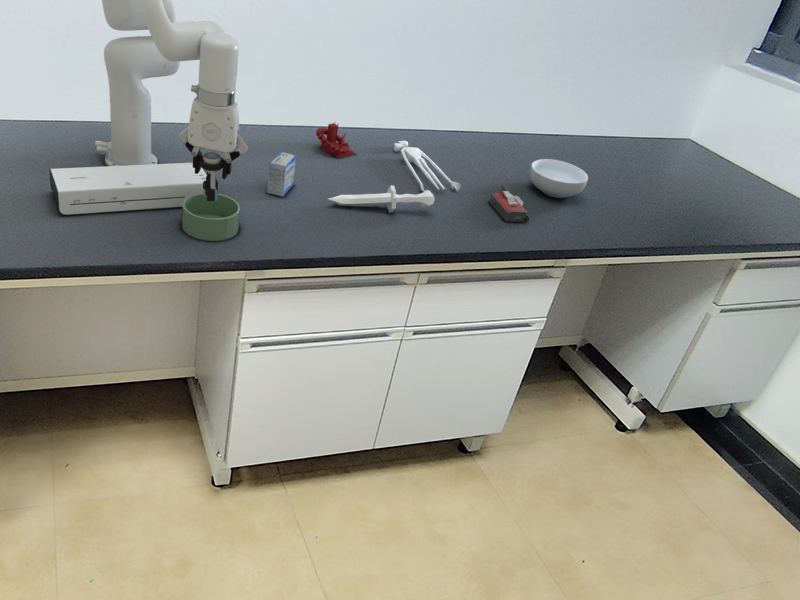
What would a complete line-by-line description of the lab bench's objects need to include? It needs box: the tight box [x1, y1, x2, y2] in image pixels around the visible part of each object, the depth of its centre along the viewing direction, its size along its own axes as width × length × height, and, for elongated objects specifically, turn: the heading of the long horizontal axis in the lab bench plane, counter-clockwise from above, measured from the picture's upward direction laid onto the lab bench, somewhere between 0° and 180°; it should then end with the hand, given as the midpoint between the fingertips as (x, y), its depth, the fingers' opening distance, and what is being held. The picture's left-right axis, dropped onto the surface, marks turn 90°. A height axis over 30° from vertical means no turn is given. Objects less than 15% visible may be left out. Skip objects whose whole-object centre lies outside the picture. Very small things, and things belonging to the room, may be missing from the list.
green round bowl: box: [181, 193, 241, 242], centre depth 175 cm, size 13×13×6 cm
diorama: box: [315, 122, 356, 159], centre depth 223 cm, size 11×12×8 cm
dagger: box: [327, 185, 435, 213], centre depth 198 cm, size 8×6×28 cm
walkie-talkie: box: [489, 184, 530, 223], centre depth 214 cm, size 9×4×20 cm
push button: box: [199, 151, 225, 201], centre depth 170 cm, size 7×5×10 cm
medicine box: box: [266, 151, 297, 198], centre depth 196 cm, size 8×4×9 cm, turn 168°
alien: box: [393, 140, 462, 192], centre depth 224 cm, size 12×32×5 cm, turn 24°
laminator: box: [48, 162, 207, 216], centre depth 180 cm, size 34×12×6 cm, turn 118°
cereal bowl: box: [529, 158, 589, 199], centre depth 227 cm, size 17×17×7 cm
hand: (211, 173), depth 170 cm, fingers closed on push button, 5 cm apart
